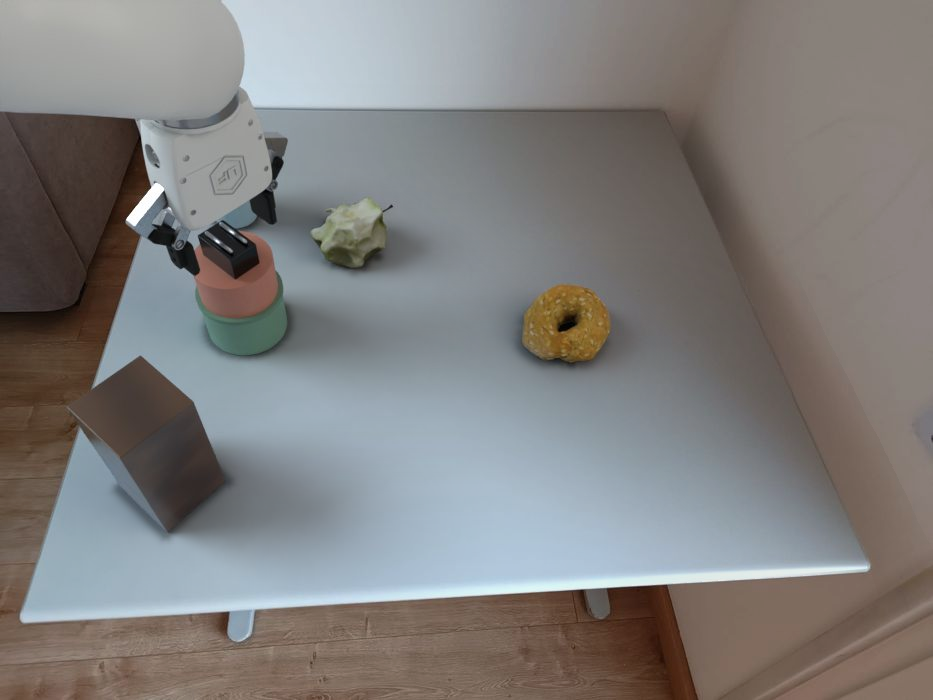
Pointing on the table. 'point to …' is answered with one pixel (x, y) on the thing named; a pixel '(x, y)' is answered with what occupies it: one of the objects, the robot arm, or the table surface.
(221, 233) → the clip
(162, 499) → the clip stand
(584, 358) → the bagel
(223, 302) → the cup stack
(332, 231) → the fruit
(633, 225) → the table surface
